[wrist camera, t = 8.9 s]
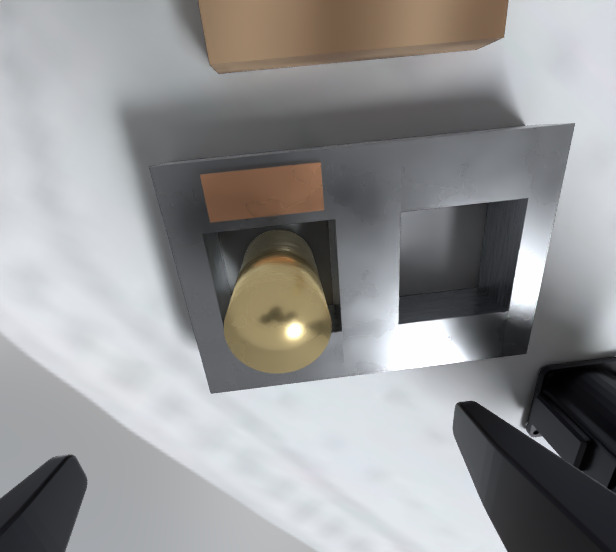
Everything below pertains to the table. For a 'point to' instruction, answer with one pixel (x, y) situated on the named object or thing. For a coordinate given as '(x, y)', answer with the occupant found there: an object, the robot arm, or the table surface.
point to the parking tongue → (342, 30)
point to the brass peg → (278, 306)
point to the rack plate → (374, 243)
